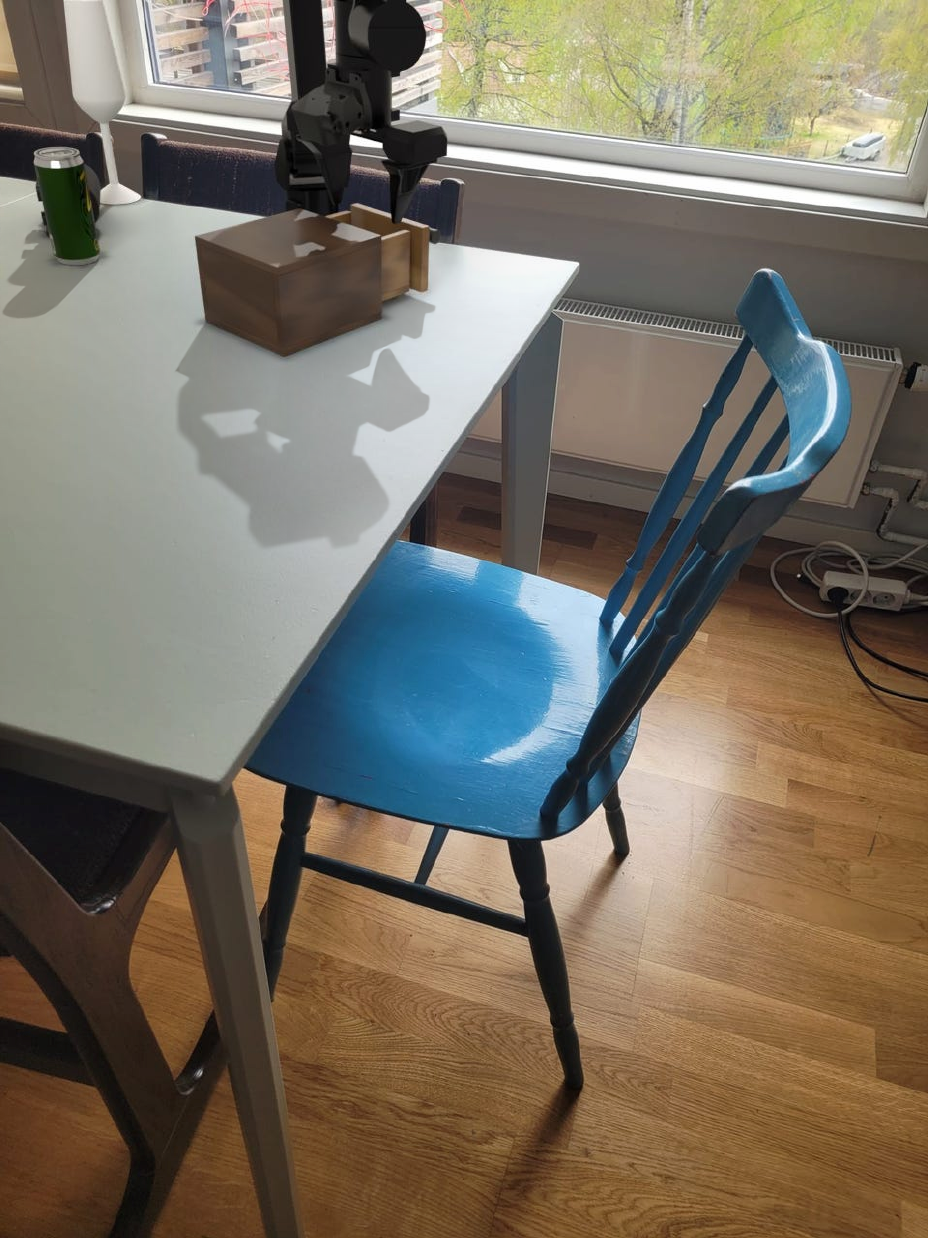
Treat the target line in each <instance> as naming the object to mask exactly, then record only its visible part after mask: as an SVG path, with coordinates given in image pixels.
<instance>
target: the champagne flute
mask: <svg viewBox="0 0 928 1238" xmlns="http://www.w3.org/2000/svg"><path fill="white" fill-rule="evenodd" d="M63 9H64V18H65V21H64V22H65V29H66V30H65V31H66V41H67V50H68V60H69V70H70V71H69V72H70V81H71V91H72V97H73V99H74V101H75V103H76V104H77V105H78V107H79V108H80V109H81V110H82V111H83V112H84V113H85V114H86V115H88V116H89V117H90V118H91V119H92V120H94V121H96V122H98V124H99V128H100V133H101V139H102V140H101V141H102V145H103V146H102V147H103V152H104V157H105V163H106V169H107V175H108V179H109V180H108V181H109V183H108V184H107V185H106V186H105V187H103V188H101V194H100V204H103V205H112V206H115V205H126V204H132V203H135V202H138V201H140V200H141V198H142V195H141V194H139V193H137V192H136V191H134V190H132V189H130V188H128V187H126V186H124V185H123V184H121V183H119V178H118V170H117V165H116V159H115V153H114V148H113V142H112V141H113V140H112V135H111V129H110V122H112V121H113V120H114V119H115V118H116V116H117V115H118V114H119V112H120V111H121V110H122V108H123V106H124V104H125V101H126V96H127V95H126V91H125V86H124V83H123V77H122V74H121V70H120V66H119V62H118V57H117V54H116V48H115V43H114V40H113V36H112V32H111V29H110V28H111V27H110V24H109V20H108V15H107V11H106V7H105V2H104V0H63Z"/></svg>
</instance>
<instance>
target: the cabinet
mask: <svg viewBox="0 0 928 1238" xmlns="http://www.w3.org/2000/svg"><path fill="white" fill-rule="evenodd" d="M194 241H195V249H196V250H195V251H196V256H197V257H196V258H197V264H198V265H197V266H198V273H199V281H200V289H201V299H202V307H203V314H204V321H205V323H208V324H210V325H211V326H214V327H216V328H219V329H221V330H223V331H225V332H228V333H230V334H232V335H234V336H236V337H239V338H241V339H243V340H246V341H248V342H250V343H253V344H255V345H257V346H259V347H262V348H264V349H266V350H267V351H270V352H273V353H275V354H278V355H280V356H282V357H287V356H288V355H292V354H294V353H297V352H300V351H302V350H304V349H308V348H310V347H312V346H315V345H317V344H320V343H323V342H325V341H328V340H330V339H333V338H335V337H338V336H341V335H343V334H346V333H348V332H351V331H353V330H356V329H359V328H361V327H364V326H366V325H369V324H371V323H374V322H377V321H379V320H382V318H383V312H382V311H383V304H382V303H383V301H382V257H381V235H378V234H375V233H372V232H369V231H366V230H363V229H360V228H357V227H355V226H352V225H349V224H346V223H343V222H340V221H337V220H334V219H331V218H328V217H325V216H322V215H319V214H316V213H313V212H310V211H307V210H304V209H301V208H299V209H295V210H291V211H287V212H286V211H284V212H281V213H277V214H272V215H269V216H265V217H261V218H258V219H254V220H250V221H246V222H243V223H239V224H235V225H232V226H228V227H223V228H220V229H216V230H212V231H208V232H205V233H201V234H198V235H194Z"/></svg>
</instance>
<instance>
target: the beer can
mask: <svg viewBox="0 0 928 1238" xmlns="http://www.w3.org/2000/svg"><path fill="white" fill-rule="evenodd" d="M33 155H34V160H33V165H34V170H35V175H36V181H37V180H38V184H39V189H40V194H41V198H42V207H43V211H44V212H45V216H46V221H47V226H48V230H49V235H50V237H49V239H50V244H51V249H52V253H53V256H54V258H55V259H56V260H57V262H58V263H60V264H62V265H66V266H84V265H85V266H86V265H90V264H93V263H95V262H97V261H98V260H99V258H100V256H101V255H100V254H101V247H100V243H99V242H100V241H99V237H98V231H97V227H96V223H95V220H94V215H93V210H92V204H91V199H90V194H89V188H88V183H87V178H86V172H85V167H84V164H85V162H84V159H83V158H82V157H81V153H80V151H79V149H77V148H73V147H67V146H51V147H44V148H43V147H42V148H39V149H37V150H35V151H34V152H33Z"/></svg>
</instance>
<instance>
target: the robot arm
mask: <svg viewBox="0 0 928 1238" xmlns="http://www.w3.org/2000/svg"><path fill="white" fill-rule="evenodd" d="M282 9H283V21H284V30H285V31H284V32H285V42H286V50H287V53H286V54H287V62H288V73H289V74H288V75H289V83H290V94H291V100H290V102H289V104H288V107H287V109H286V112H285V113H284V116H283V118H282V120H281V124H280V126H281V127H280V128H281V137H280V138H279V141H278V144H277V145H278V146H277V150H276V155H275V159H274V172H275V179H276V183H277V184H278V185H279V186H280V187H281V188H282V190H284V192H286V199H285V212H287V211H291V210H295V209H299V208H301V209H304V210H307V211H310V212H313V213H316V214H319V215H322V216H328V215H332V214H335V213H339V212H340V211H339V205H341V204H342V202H343V197H344V192H345V188H348V187H349V182H350V179H351V178H350V177H351V166H352V165H351V164H352V156H353V148H352V147H351V145H350V142H351V136H354V137H356V138H357V137H358V138H361V139H364V140H368V141H373V142H376V143H380V144H382V145H381V146H382V147H381V148H382V151H383V152H384V154H385V156H386V159H381V160H380V162H381V164H382V166H383V168H384V169H385V170H386V172H387V173H388V175H389V176H388V177H389V200H390V201H389V207H390V208H389V209H390V214H391V219H392V223H393V224H398V223H400V222H401V221H402V218H404V216H405V214H406V212H407V209H408V207H409V206H410V203H411V201H412V198H413V196H414V194H415V192H416V190H417V188H418V186H419V184H420V182H421V180H422V179H423V177H424V175H425V173H426V172H427V171H428V168H429V166H430V165H432V164H435V163H437V162H438V159H439V158H444V157H447V156H448V134H447V133H446V131H445V129H444V128H443V126H442V125H438V124H433V123H430V122H427V121H426V122H425V121H422V120H417V119H416V120H411V121H407V122H403V123H398V124H392V122H397V121H401V109H400V108H395V107H393V79H394V78H399V77H401V72H405V71H408V70H410V69H411V68H413V67H414V66H415V65H416V64H417V63H418V62H419V61H420V59H421V57H422V56H423V54H424V50H425V48H426V43H427V29H426V27H425V24H424V20H423V18H422V16H421V14H420V12H419V11H418V10H417V9H416V7H414V6H413V5H411V4H410V3H409V2H408V1H407V0H333V13H334V14H333V15H334V16H333V17H334V42H335V43H334V45H335V46H334V47H335V62H329V63H327V55H326V54H327V53H326V41H325V29H324V27H325V26H324V15H323V2H322V0H282Z"/></svg>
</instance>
